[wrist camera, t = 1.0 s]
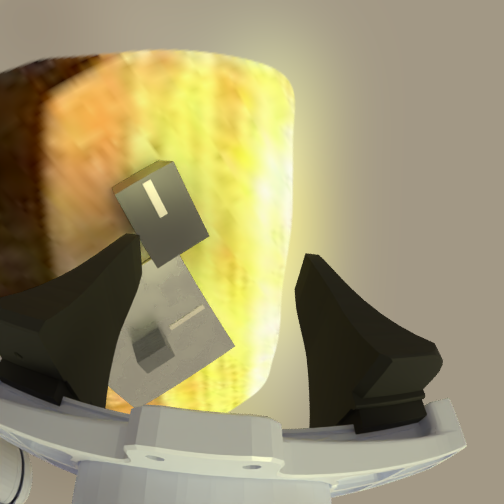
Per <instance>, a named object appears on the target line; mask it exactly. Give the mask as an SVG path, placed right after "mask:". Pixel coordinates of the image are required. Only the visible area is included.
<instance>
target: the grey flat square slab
mask: <svg viewBox="0 0 504 504" xmlns="http://www.w3.org/2000/svg"><path fill="white" fill-rule="evenodd" d="M233 347H235V345H234V344H233V342H232V341H231V339H230V338H229V336H228V334H227V333H226V331H225V330H224V328H223V327H222V325H221V323H220V322H219V320H218V319H217V317H216V316H215V314H214V312H213V311H212V309H211V307H210V306H209V304H208V303H207V301H206V299H205V298H204V296H203V294H202V293H201V291H200V289H199V288H198V286H197V284H196V283H195V281H194V279H193V278H192V276H191V274H190V273H189V271H188V269H187V267H186V266H185V264H184V262H183V260H182V259H181V257H180V255H178V256H177V257H175V258H174V259H172V260H171V261H169V262H167V263H166V264H164V265H163V266H161V267H160V268H157V267H156V265H155V264H154V262H153V260H152V259H151V258H150V259H148V260H147V261H145V262H143V263H142V276H141V280H140V284H139V287H138V290H137V293H136V296H135V298H134V300H133V303H132V305H131V307H130V310H129V312H128V315H127V317H126V319H125V322H124V324H123V327H122V329H121V332H120V335H119V338H118V341H117V345H116V349H115V353H114V357H113V362H112V367H111V372H110V377H109V383H108V386H109V387H110V388H111V389H112V390H114V391H115V392H116V393H117V394H118V395H119V396H121V397H122V398H123V399H124V400H125V401H127V402H128V403H129V404H130V405H132V406H133V407H134V408H135V407H139V406H142V405H145V404H147V403H148V402H150V401H152V400H153V399H155V398H157V397H158V396H160V395H161V394H163V393H165V392H166V391H168V390H169V389H171V388H173V387H174V386H176V385H177V384H179V383H181V382H182V381H184V380H185V379H187V378H188V377H190V376H191V375H193V374H195V373H196V372H198V371H199V370H201V369H202V368H204V367H205V366H207V365H208V364H210V363H211V362H213V361H214V360H216V359H217V358H219V357H220V356H222V355H223V354H224V353H226V352H227V351H229V350H230V349H232V348H233Z"/></svg>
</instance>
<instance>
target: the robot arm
mask: <svg viewBox="0 0 504 504" xmlns="http://www.w3.org/2000/svg"><path fill="white" fill-rule="evenodd" d="M141 276H142V262H141V250H140V235H135V234H125V235H123V236H122V237H120V238H119V239H118V240H116V241H115V242H113V243H112V244H110V245H109V246H108V247H106V248H105V249H103V250H102V251H101V252H99V253H98V254H96V255H95V256H93V257H92V258H90V259H89V260H87V261H86V262H84V263H83V264H81V265H80V266H78V267H76V268H75V269H73V270H71V271H69V272H67V273H66V274H64V275H62V276H60V277H58V278H56V279H53V280H51V281H49V282H47V283H45V284H42V285H40V286H37V287H35V288H32V289H29V290H26V291H23V292H20V293H17V294H13V295H9V296H5V297H1V298H0V504H24V503H25V501H26V500H27V498H28V496H29V494H30V490H31V486H32V466H31V462H30V459H29V455H28V453H30V454H32V455H33V456H36V457H38V458H40V459H41V460H43V461H46V462H48V463H50V464H52V465H54V466H56V467H59V468H61V469H63V470H66V471H69V472H71V473H73V474H75V475H77V477H76V482H75V488H74V493H73V500H72V504H332V502H331V498H332V497H337V496H342V495H346V494H351V493H355V492H359V491H363V490H367V489H370V488H374V487H377V486H381V485H384V484H387V483H391V482H394V481H397V480H400V479H403V478H406V477H409V476H412V475H414V474H417V473H420V472H423V471H425V470H428V469H430V468H432V467H434V466H436V465H437V464H439V463H441V462H443V461H444V460H446V459H448V458H450V457H451V456H453V455H454V454H456V453H458V452H459V451H461V450H462V449H464V448H465V447H466V445H467V444H466V441H465V438H464V435H463V432H462V429H461V427H460V424H459V421H458V419H457V416H456V413H455V411H454V408H453V406H452V403H451V401H450V399H449V398H446V399H442V400H438V401H434V402H430V403H428V404H426V405H425V406H424V405H423V402H422V399H424V398H425V393H424V391H423V389H424V388H425V387H426V385H428V384H429V382H430V381H431V380H432V379H433V378H434V377H435V376H436V375H437V373H438V372H439V371H440V368H441V366H442V363H443V360H442V358H441V355H440V354H439V351H438V349H437V347H436V345H435V343H433V342H431V341H428V340H426V339H424V338H422V337H420V336H417V335H415V334H413V333H411V332H410V331H408V330H406V329H404V328H402V327H401V326H399V325H397V324H396V323H394V322H393V321H391V320H390V319H388V318H387V317H385V316H384V315H382V314H381V313H379V312H378V311H377V310H376V309H374V308H373V307H372V306H371V305H369V304H368V303H367V302H366V301H364V300H363V299H362V298H361V297H360V296H359V295H358V294H356V292H355V291H354V290H352V289H351V288H350V287H349V286H348V285H347V284H346V283H345V282H344V281H343V280H342V279H341V277H340V276H339V275H338V274H337V273H336V272H335V271H334V270H333V269H332V268H331V267H330V266H329V265H328V264H327V263H326V262H325V261H324V259H322V257H320V256H319V255H315V254H305V257H304V260H303V264H302V267H301V270H300V274H299V277H298V280H297V283H296V287H295V301H296V309H297V315H298V319H299V324H300V328H301V332H302V337H303V341H304V345H305V351H306V356H307V367H308V378H309V401H310V428H303V429H282V427H281V423H279V422H278V421H276V420H273V419H272V418H269V417H267V416H259V415H252V414H235V413H221V412H209V411H199V410H190V409H182V408H175V407H168V406H160V405H142V406H139V407H135V408H133V409H131V413H130V414H126V413H121V412H117V411H113V410H109V409H105V406H106V397H107V390H108V383H109V377H110V372H111V367H112V362H113V357H114V353H115V349H116V345H117V341H118V338H119V335H120V332H121V329H122V327H123V324H124V322H125V319H126V317H127V315H128V312H129V310H130V307H131V305H132V303H133V300H134V298H135V296H136V293H137V290H138V287H139V284H140V280H141ZM27 452H28V453H27Z"/></svg>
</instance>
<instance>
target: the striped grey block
mask: <svg viewBox="0 0 504 504" xmlns="http://www.w3.org/2000/svg"><path fill="white" fill-rule="evenodd" d="M112 189H113V192H114V194H115V196H116V198H117V200H118V202H119V204H120V205H121V207H122V209H123V211H124V213H125V214H126V216H127V218H128V220H129V222H130V223H131V225H132V227H133V229H134V230H135V232H136V234H137V235H140V240H141V242H142V244H143V246H144V247H145V249H146V251H147V252H148V254H149V255H150V257H151V259H152V260H153V262H154V264H155V265H156V267H157V268H160V267H161V266H163V265H164V264H166V263H167V262H169V261H171V260H172V259H174V258H175V257H177V256H178V255H180V254H182V253H183V252H185V251H186V250H188V249H189V248H191V247H193V246H194V245H196V244H197V243H199V242H201V241H202V240H204V239H206V238H207V237H209V234H208V232H207V230H206V228H205V226H204V224H203V222H202V220H201V218H200V216H199V214H198V212H197V210H196V208H195V206H194V204H193V201H192V199H191V197H190V195H189V193H188V191H187V189H186V187H185V185H184V183H183V181H182V179H181V176H180V174H179V172H178V170H177V168H176V166H175V164H174V162H173V161H157V162H155V163H153V164H152V165H150V166H148V167H146V168H144V169H143V170H141V171H139V172H137V173H135V174H134V175H132V176H130V177H129V178H127V179H125V180H123V181H122V182H120V183H118V184H117V185H115V186H114V187H112Z"/></svg>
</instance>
